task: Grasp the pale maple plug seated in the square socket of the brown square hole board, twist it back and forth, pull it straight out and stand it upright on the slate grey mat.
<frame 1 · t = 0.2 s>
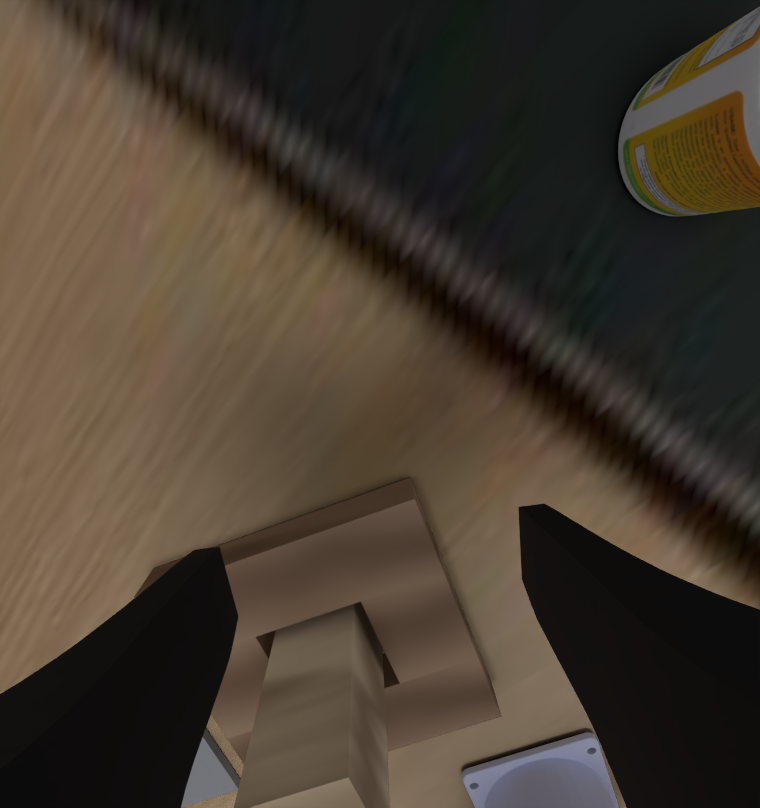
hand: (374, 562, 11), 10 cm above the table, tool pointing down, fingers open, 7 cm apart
supplement bottle: (680, 142, 18), on the table
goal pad: (119, 747, 26), on the table
brown square hole board: (332, 628, 24), on the table
maple plug: (332, 628, 24), resting in brown square hole board
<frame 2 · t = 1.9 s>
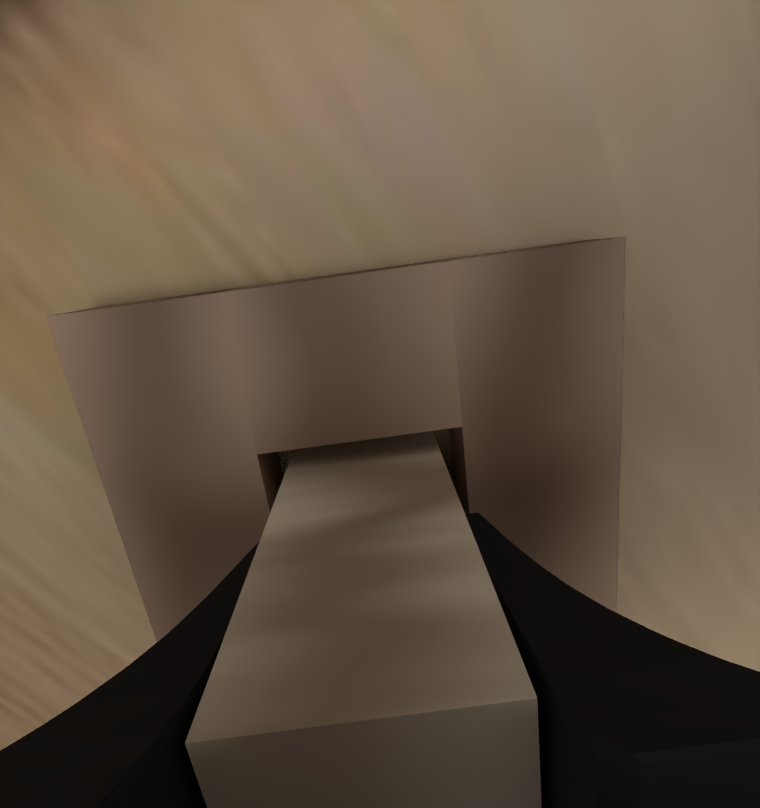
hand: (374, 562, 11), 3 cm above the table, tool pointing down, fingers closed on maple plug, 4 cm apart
brown square hole board: (372, 494, 14), on the table
maple plug: (372, 494, 14), resting in brown square hole board, touching gripper
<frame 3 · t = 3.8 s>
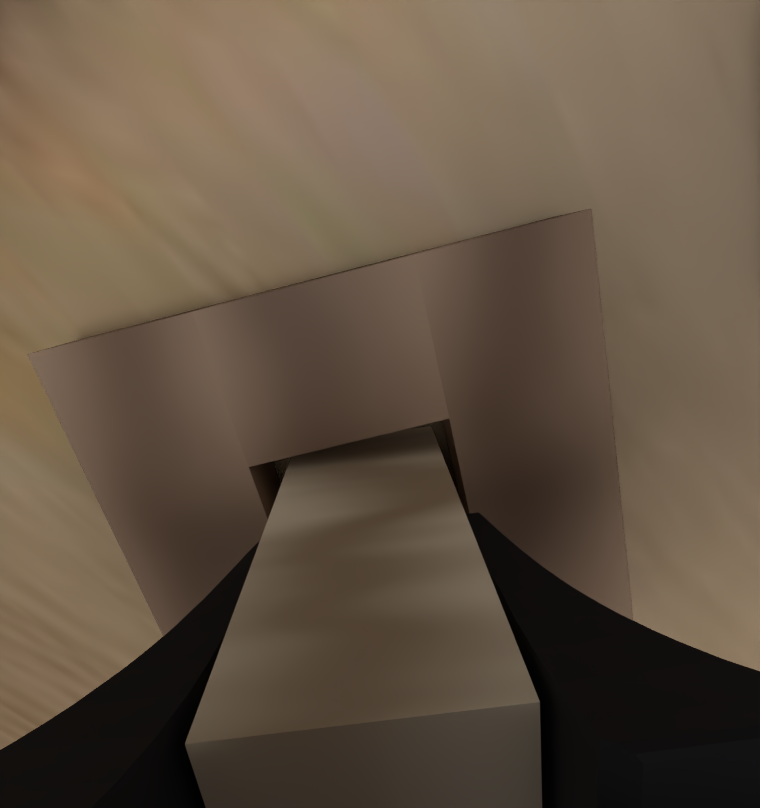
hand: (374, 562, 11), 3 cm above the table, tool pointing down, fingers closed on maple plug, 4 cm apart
brown square hole board: (372, 494, 14), on the table
maple plug: (372, 494, 14), resting in brown square hole board, touching gripper
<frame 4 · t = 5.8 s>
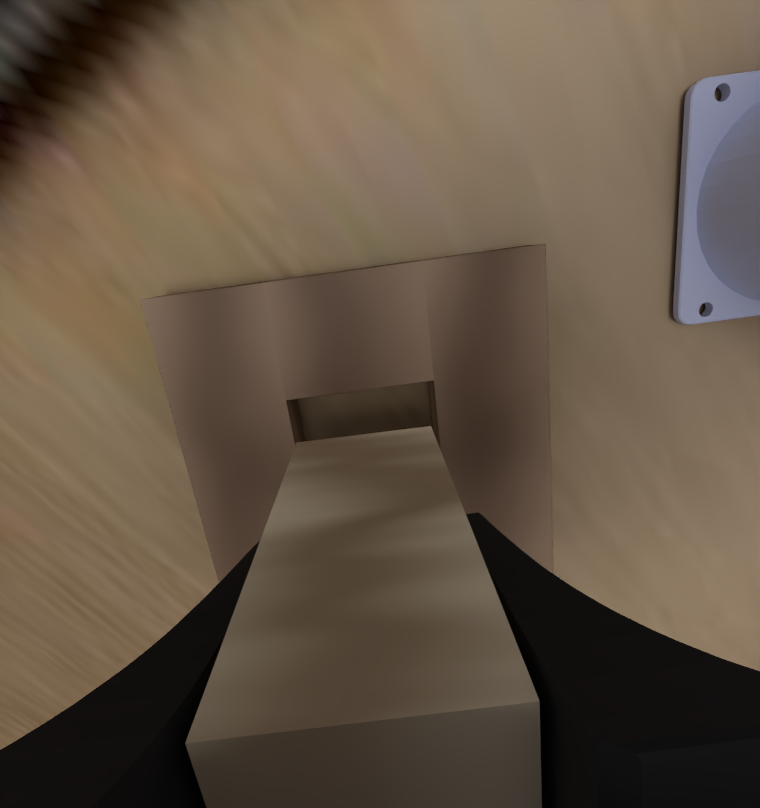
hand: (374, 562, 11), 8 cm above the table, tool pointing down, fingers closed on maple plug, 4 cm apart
brown square hole board: (369, 438, 19), on the table
maple plug: (372, 494, 14), point 5 cm above the table, touching gripper
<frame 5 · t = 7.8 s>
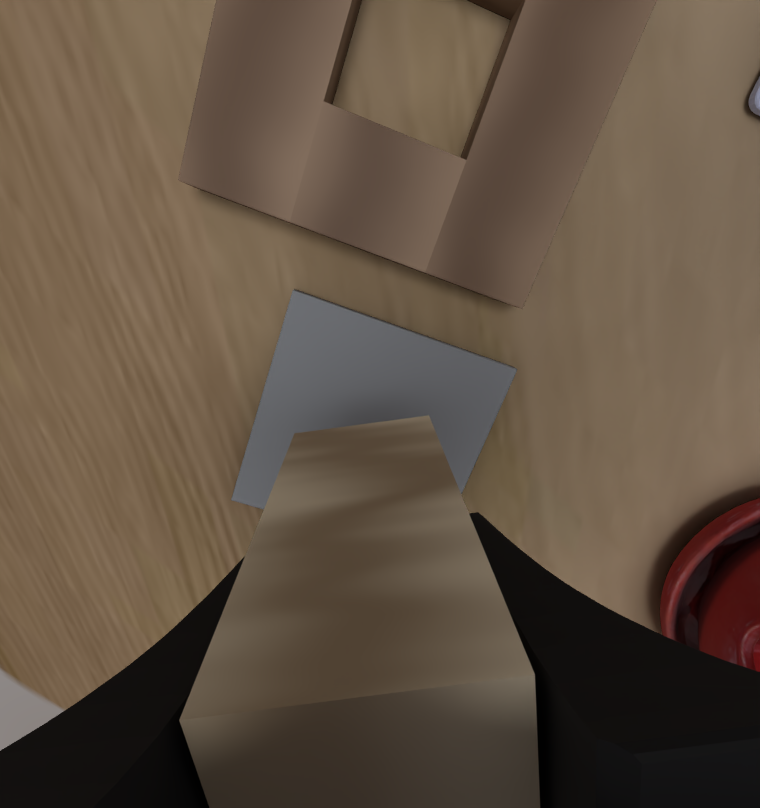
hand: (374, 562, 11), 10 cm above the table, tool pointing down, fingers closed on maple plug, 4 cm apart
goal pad: (369, 433, 21), on the table
brown square hole board: (417, 70, 17), on the table
plant pot: (757, 575, 25), on the table
maple plug: (370, 484, 14), point 7 cm above the table, touching gripper
when the fingers open (5 cm above the table, at t = 9.4 s): maple plug stays where it is, resting on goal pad.
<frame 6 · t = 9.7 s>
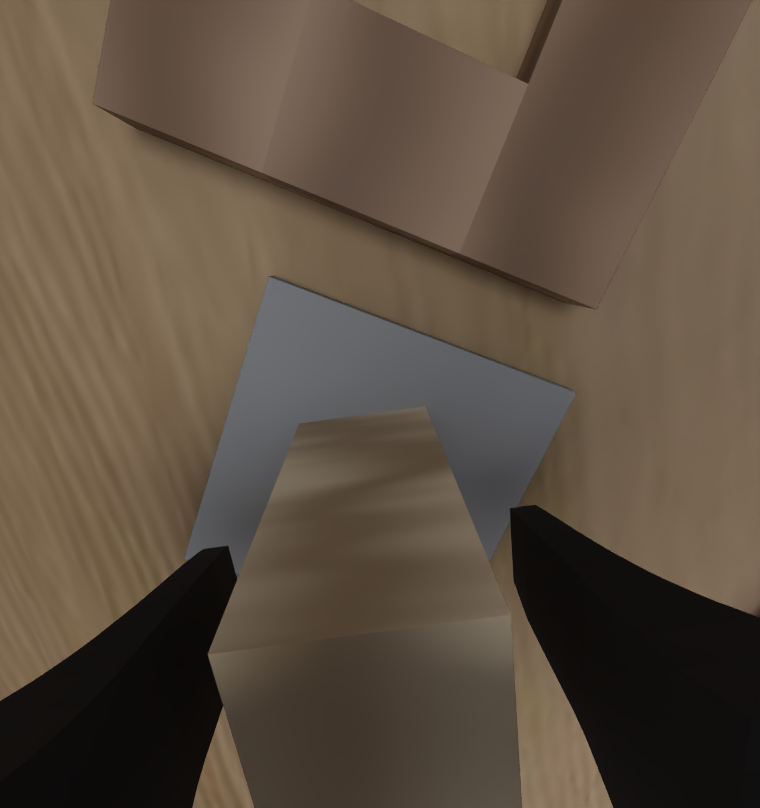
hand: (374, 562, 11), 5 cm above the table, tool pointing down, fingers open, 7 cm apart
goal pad: (371, 472, 16), on the table
maple plug: (370, 472, 15), resting on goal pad
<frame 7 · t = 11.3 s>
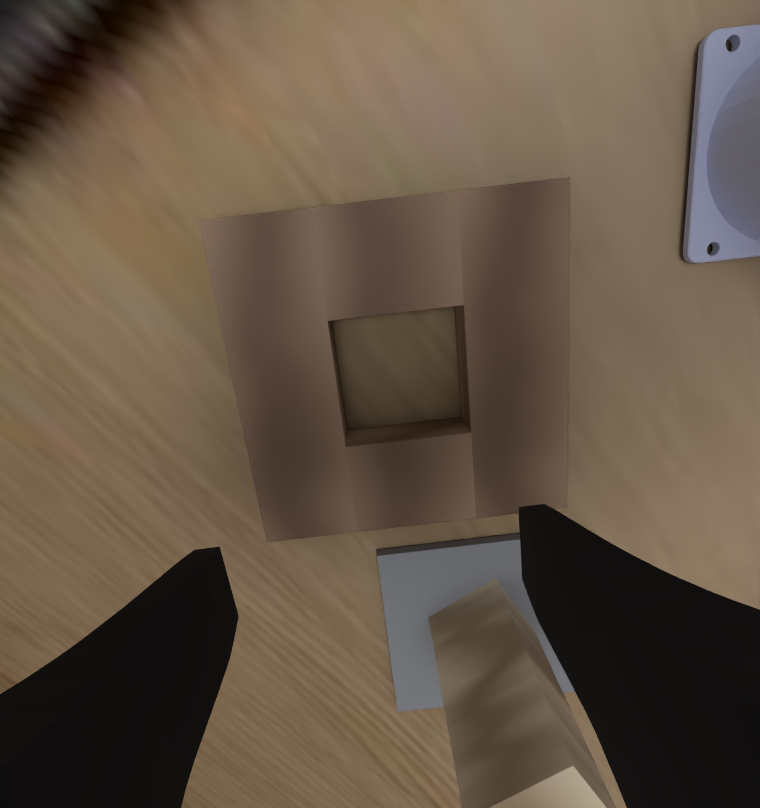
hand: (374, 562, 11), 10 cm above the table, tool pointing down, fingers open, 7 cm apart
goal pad: (482, 620, 25), on the table
brown square hole board: (398, 367, 20), on the table
maple plug: (481, 624, 24), resting on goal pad
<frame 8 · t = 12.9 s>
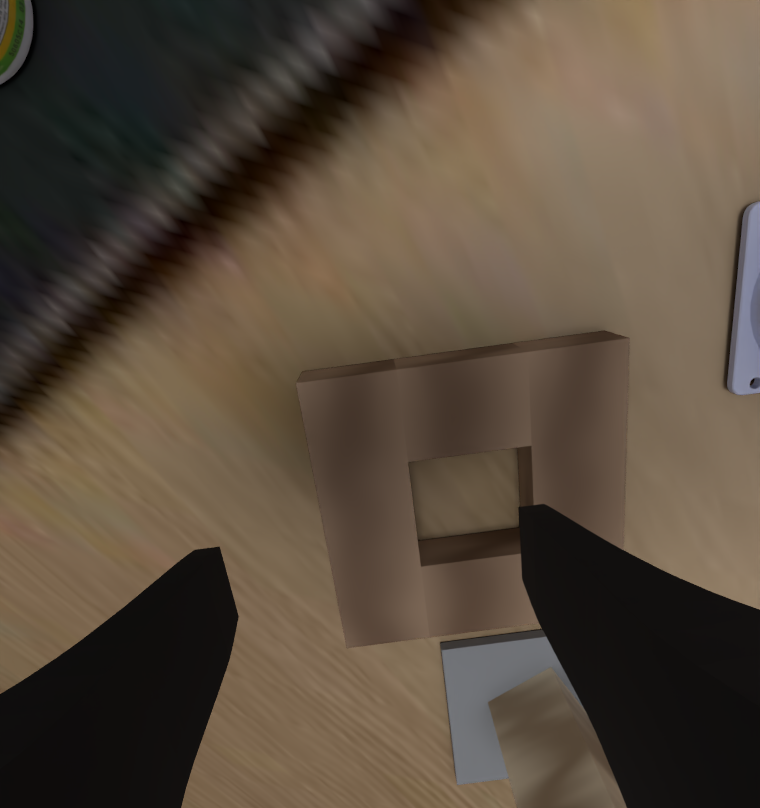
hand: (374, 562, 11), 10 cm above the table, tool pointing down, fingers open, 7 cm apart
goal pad: (536, 701, 26), on the table
brown square hole board: (464, 487, 22), on the table
maple plug: (537, 707, 26), resting on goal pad
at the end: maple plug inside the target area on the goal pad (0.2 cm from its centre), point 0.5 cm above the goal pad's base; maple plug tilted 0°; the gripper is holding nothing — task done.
